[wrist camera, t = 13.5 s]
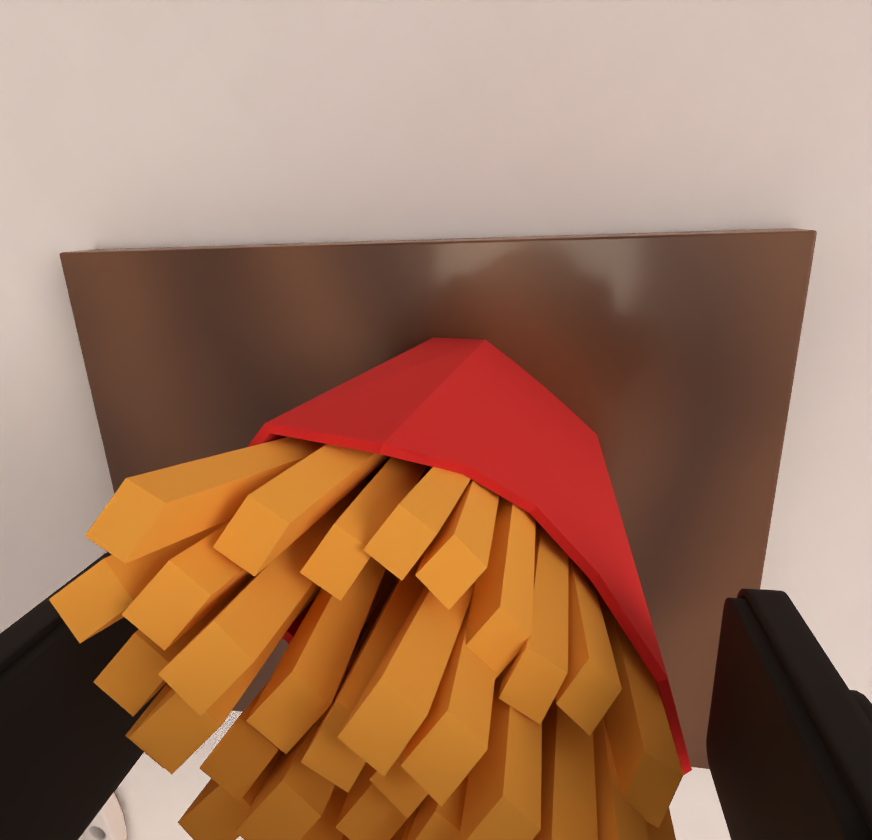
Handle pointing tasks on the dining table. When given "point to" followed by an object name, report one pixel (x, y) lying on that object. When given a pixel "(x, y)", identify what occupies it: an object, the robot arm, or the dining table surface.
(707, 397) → the cutting board
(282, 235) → the dining table surface
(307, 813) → the french fries
